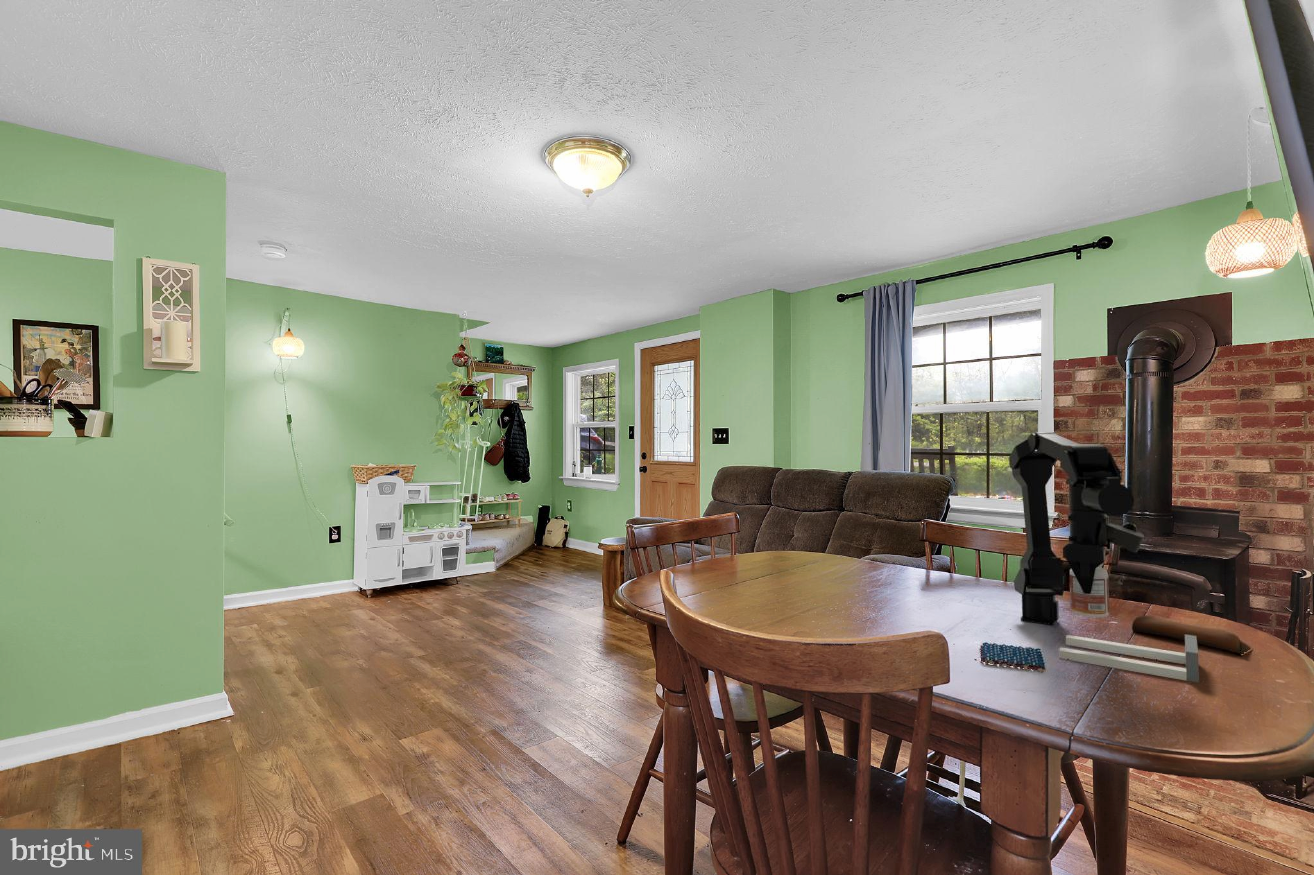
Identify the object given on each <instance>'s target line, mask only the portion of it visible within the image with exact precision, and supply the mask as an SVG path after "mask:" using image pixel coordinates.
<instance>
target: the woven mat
mask: <svg viewBox="0 0 1314 875" xmlns="http://www.w3.org/2000/svg"><path fill="white" fill-rule="evenodd" d="M980 650H981V651H980ZM1041 650H1042V649H1041V648H1039V647H1037V648H1035V647H1031V646H1029V647H1027V646H1025V647H1023V646H1022V645H1019V646H1018V645H1015V646H1014V645H1012V644H1011V645H1009V644H1004V643H1003V644H1001V643H1000V644H997V643H995V642H994V643H992V642H990V643H989V642H987V641H985V642H982V643H981V645H980V648H979V653H980V652H981V653H980V658H981V661H980V662H982V661H983V662H985V663H986V664H988V663H990V664H993V663H994V664H1000V665H1001V666H1002V667H1003V666H1008V665H1009V666H1013V667H1014V668H1017V667H1020V669H1022V668H1024V669H1023V670H1024V671H1029V670H1031V669H1032V670H1033V669H1034V670H1038V672H1039V673H1043V672H1044V671H1045V670H1046V665H1045V664H1046V662H1045V659H1044V656H1043V654H1042V653H1043V652H1042V651H1041ZM983 662H982V663H983ZM1028 669H1029V670H1028Z"/></svg>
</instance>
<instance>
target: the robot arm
mask: <svg viewBox="0 0 1314 875" xmlns="http://www.w3.org/2000/svg"><path fill="white" fill-rule="evenodd" d="M1057 461H1059V468H1061V469H1062V471H1063V472H1065V474H1066V475H1067V477H1068V478H1067V479H1066V481H1065V484H1066V485H1068V499H1069V500H1068V501H1069V502H1068V504H1069V505H1068V506H1069V511H1068V512H1069V514H1068V515H1067V521H1069V536H1068V542H1067V544H1065V545H1064V546H1063V547H1062V558H1063V559H1065V560H1066V562H1067V563H1068V566H1069V567H1070V569H1072V571H1073V573H1074V575H1075V577H1076V579H1077V581H1078V583H1079V585H1080V587H1081V589H1082V591H1083V592H1084V593H1085V594H1091V591H1092V586H1093V581H1094V576H1095V571H1096V568H1097V567H1098V566H1100V565H1101V564H1103V563H1104V564H1105V561H1106V557H1107V556H1108V555H1109V554H1110V553H1111V551H1110V550H1111V549H1112V544H1113V545H1115V546H1118V547H1120V548H1124V549H1126V550H1127V551H1129V552H1132V553H1137V552H1138V551H1139V548H1140V546H1141V545H1142V542H1143V540H1144V538H1145V535H1144V533H1142V532H1138V530H1137V529H1138V528H1137V525H1136V524H1134V523H1130V522H1128V521H1127V522H1125V523H1124V524H1123V525H1120V524H1114V523H1111V522H1110V520H1109V519H1110V518H1109V515H1110V516H1113V517H1120V516H1123V515H1126V514H1128V513H1129V512H1130V511H1131V510H1132V508H1133V507H1134V505H1135V498H1134V495H1133V492H1131V490H1130V489H1129V488H1127V486H1124V485H1123V484H1122V482H1121V481H1122V475H1121V474H1122V471H1121V469H1120V467H1119V466H1118V465H1117V463H1116V461H1115V459H1114V456H1113V454H1112V453H1111V452H1110V451H1109V449H1108V448H1107V446H1105V445H1104V444H1087V443H1085V444H1083V443H1079V442H1075V441H1073V440H1070V439H1068V438H1065V437H1063V436H1061V435H1059V434H1058V433H1057V432H1056V433H1055V432H1053V431H1045V432H1044V431H1041V432H1037V431H1036V432H1033V433H1030V434H1029V436H1028V437H1027V439H1025V440H1024V441H1022V442H1020V443H1018V444H1017V445H1015V446H1014V447H1013V450H1012V451H1011V453H1010V455H1009V458H1008V464H1009V467H1010V468H1011V473H1012V477H1013V479H1014V480H1015V481H1016V482H1017V483H1018V485H1019V486H1020V487H1021V493H1022V494H1021V496H1022V505H1023V517H1024V529H1025V538H1026V551H1025V552H1024V554H1023V556H1022V558H1021V559H1020V561H1019V562H1020V563H1019V564H1020V565H1019V567H1020V568H1019V570H1018V572H1017V573H1016V576H1015V578H1014V580H1013V585H1014V587H1013V588H1014V591H1016V592H1017V593H1018V594H1020V595H1021V615H1022V616H1021V617H1020V621H1024V622H1030V623H1037V624H1044V625H1050V626H1054V625H1055V624H1056V622H1058V620H1059V619H1060V616H1059V615H1060V614H1059V613H1060V611H1059V609H1060V608H1059V601H1058V600H1057V599H1056V596H1060V597H1061V596H1062V597H1063V596H1064V592H1065V585H1066V578H1067V577H1066V573H1065V571H1064V569H1063V560H1062V558H1061V557H1059V556H1057V555H1056V553H1054V550H1053V549H1052V542H1051V540H1052V538H1051V530H1050V520H1049V519H1050V518H1049V511H1048V510H1049V508H1048V501H1047V499H1048V498H1047V488H1046V486H1047V484H1048V483H1049V481H1050V479H1051V478H1052V475H1053V468H1054V466H1055V465H1056V463H1057ZM1107 515H1108V516H1107ZM1106 549H1107V550H1106ZM1104 564H1103V565H1104Z"/></svg>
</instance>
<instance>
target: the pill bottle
mask: <svg viewBox="0 0 1314 875" xmlns="http://www.w3.org/2000/svg"><path fill="white" fill-rule="evenodd" d="M1104 564H1105V562H1104V563H1103V564H1101V565H1100V566H1098V567H1097V568H1096V571H1095V576H1094V581H1093V586H1092V591H1091V594H1085V593H1084V592H1083V591H1082V589H1081V587H1080V585H1079V583H1078V581H1077V579H1076V577H1075V575H1074V573H1073V571H1072V569H1071V568H1070V569H1069V593H1070V594H1069V596H1070V598H1069V599H1070V600H1069V601H1070V611H1071V612H1072V613H1073V614H1076V615H1079V616H1083V617H1088V618H1107V617H1108V616H1109V615H1110V592H1109V590H1110V588H1109V572H1108V571H1107V570H1106V569H1105V568H1103V567H1102V566H1104Z"/></svg>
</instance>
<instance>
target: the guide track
mask: <svg viewBox="0 0 1314 875" xmlns="http://www.w3.org/2000/svg"><path fill="white" fill-rule="evenodd" d="M1065 645H1066V646H1072V647H1077V648H1083V649H1091V650H1095V651H1096V650H1097V651H1102V652H1107V653H1108V652H1109V653H1114V654H1119V655H1125V656H1126V655H1127V656H1132V657H1138V658H1143V657H1144V658H1145V659H1151V660H1156V659H1157V660H1156V661H1164V662H1167V663H1168V662H1169V663H1173V664H1174V663H1175V664H1181V665H1185V667H1181V666H1180V667H1179V666H1174V665H1167V664H1161V663H1156V662H1155V663H1154V662H1150V661H1143V660H1140V659H1139V660H1137V659H1131V658H1126V657H1121V656H1120V657H1119V656H1115V655H1108V654H1104V653H1103V654H1102V653H1097V652H1090V651H1084V650H1078V649H1072V648H1065V647H1059V650H1058V656H1059V657H1058V658H1059V659H1062V660H1067V659H1069V660H1068V661H1074V662H1079V663H1085V664H1091V665H1096V666H1097V665H1098V666H1102V667H1106V668H1113V669H1118V670H1124V671H1130V672H1136V673H1142V674H1146V675H1147V674H1148V675H1152V676H1159V677H1164V678H1170V679H1174V680H1175V679H1176V680H1179V681H1181V680H1182V681H1186V682H1192V683H1197V684H1199V683H1200V671H1199V670H1200V669H1199V668H1200V666H1199V650H1198V647H1199V646H1198V643H1197V638H1196V636H1192V635H1185V640H1184V652H1180V651H1179V652H1178V651H1173V650H1165V649H1160V648H1156V647H1155V648H1154V647H1147V646H1143V645H1142V646H1140V645H1134V644H1130V643H1129V644H1128V643H1121V642H1115V641H1109V640H1101V639H1095V638H1089V637H1083V636H1075V635H1070V634H1066V636H1065ZM1144 658H1143V659H1144Z"/></svg>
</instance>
